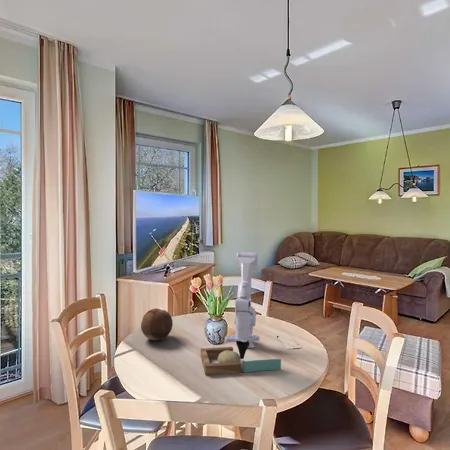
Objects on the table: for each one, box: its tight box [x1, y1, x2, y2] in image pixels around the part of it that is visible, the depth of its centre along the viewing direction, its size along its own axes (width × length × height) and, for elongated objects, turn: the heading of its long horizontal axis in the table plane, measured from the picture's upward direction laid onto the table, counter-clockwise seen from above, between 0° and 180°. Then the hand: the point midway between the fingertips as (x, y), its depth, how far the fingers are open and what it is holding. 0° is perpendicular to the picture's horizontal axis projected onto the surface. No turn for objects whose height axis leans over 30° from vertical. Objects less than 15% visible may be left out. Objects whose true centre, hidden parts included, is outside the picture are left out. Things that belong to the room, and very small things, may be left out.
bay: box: [200, 346, 242, 376], centre depth 137 cm, size 16×14×4 cm
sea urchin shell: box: [217, 350, 241, 363], centre depth 137 cm, size 9×8×8 cm
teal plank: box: [240, 358, 282, 373], centre depth 132 cm, size 17×1×4 cm, turn 101°
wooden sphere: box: [140, 307, 173, 342], centre depth 160 cm, size 15×15×15 cm
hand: (241, 357), depth 138 cm, fingers closed
